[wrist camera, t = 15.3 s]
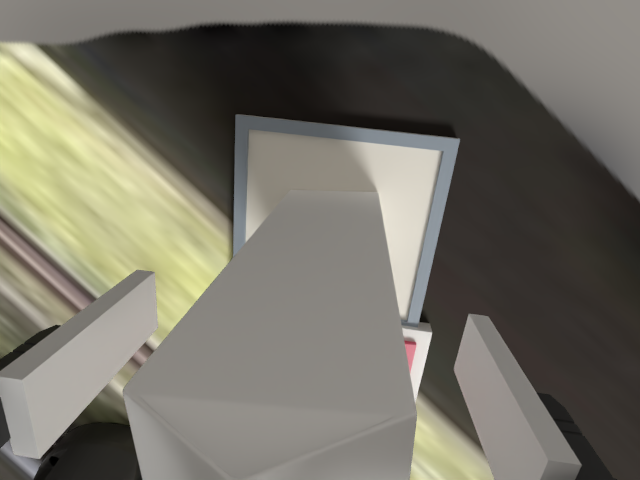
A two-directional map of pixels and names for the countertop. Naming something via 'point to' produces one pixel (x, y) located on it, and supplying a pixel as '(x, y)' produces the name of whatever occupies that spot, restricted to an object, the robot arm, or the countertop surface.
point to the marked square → (350, 185)
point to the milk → (285, 358)
